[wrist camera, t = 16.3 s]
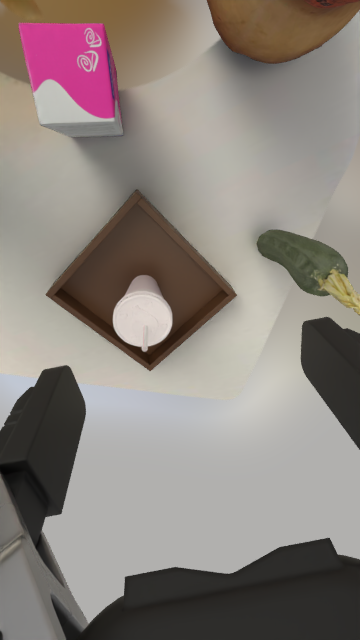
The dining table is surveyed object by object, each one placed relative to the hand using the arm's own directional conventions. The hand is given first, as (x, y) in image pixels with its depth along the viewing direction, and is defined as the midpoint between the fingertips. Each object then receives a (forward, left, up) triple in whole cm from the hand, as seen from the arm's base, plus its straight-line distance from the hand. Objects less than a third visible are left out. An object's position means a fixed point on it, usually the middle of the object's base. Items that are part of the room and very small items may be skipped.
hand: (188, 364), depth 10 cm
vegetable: (+10, +10, -30) cm, 33 cm away
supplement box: (-13, +1, -30) cm, 33 cm away
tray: (+6, -7, -30) cm, 31 cm away
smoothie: (+6, -7, -30) cm, 31 cm away
